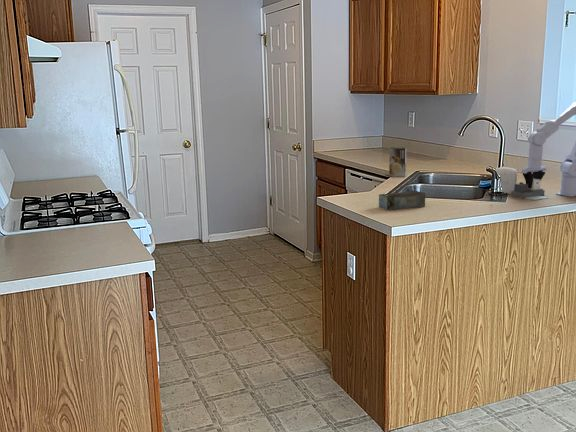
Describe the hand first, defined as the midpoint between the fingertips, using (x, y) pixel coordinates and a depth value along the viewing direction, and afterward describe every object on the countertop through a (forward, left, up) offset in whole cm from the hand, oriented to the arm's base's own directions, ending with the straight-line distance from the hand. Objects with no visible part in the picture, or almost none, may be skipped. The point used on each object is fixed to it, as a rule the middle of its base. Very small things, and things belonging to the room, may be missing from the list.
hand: (532, 187), depth 267 cm
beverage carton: (+68, -12, -4) cm, 69 cm away
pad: (+5, +6, -4) cm, 8 cm away
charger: (0, 0, -1) cm, 1 cm away
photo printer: (+7, -11, -4) cm, 13 cm away
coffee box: (+16, -78, -4) cm, 79 cm away
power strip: (+3, 0, -4) cm, 5 cm away
